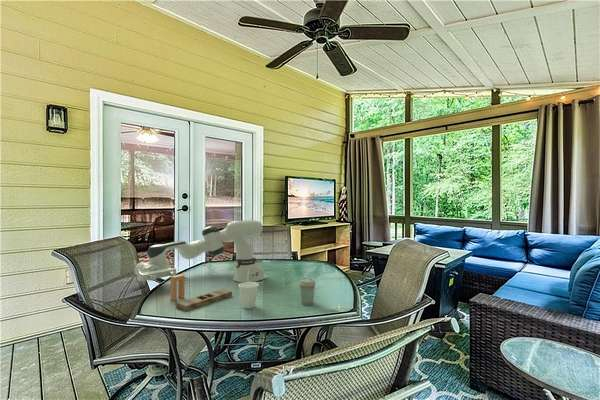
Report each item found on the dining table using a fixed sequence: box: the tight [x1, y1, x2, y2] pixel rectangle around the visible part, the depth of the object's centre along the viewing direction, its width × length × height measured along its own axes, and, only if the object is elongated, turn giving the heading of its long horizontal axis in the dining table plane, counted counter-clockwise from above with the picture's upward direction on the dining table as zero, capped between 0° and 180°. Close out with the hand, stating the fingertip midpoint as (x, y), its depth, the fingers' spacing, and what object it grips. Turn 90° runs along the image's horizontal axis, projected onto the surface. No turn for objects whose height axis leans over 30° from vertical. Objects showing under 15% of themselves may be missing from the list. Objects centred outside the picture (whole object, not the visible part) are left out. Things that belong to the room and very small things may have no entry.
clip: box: [170, 273, 186, 301], centre depth 158 cm, size 6×4×12 cm, turn 143°
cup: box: [238, 281, 259, 310], centre depth 147 cm, size 10×10×11 cm
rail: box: [175, 288, 233, 312], centre depth 154 cm, size 28×8×2 cm, turn 143°
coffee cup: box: [298, 277, 316, 306], centre depth 152 cm, size 8×8×12 cm
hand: (164, 276), depth 166 cm, fingers open, 8 cm apart
